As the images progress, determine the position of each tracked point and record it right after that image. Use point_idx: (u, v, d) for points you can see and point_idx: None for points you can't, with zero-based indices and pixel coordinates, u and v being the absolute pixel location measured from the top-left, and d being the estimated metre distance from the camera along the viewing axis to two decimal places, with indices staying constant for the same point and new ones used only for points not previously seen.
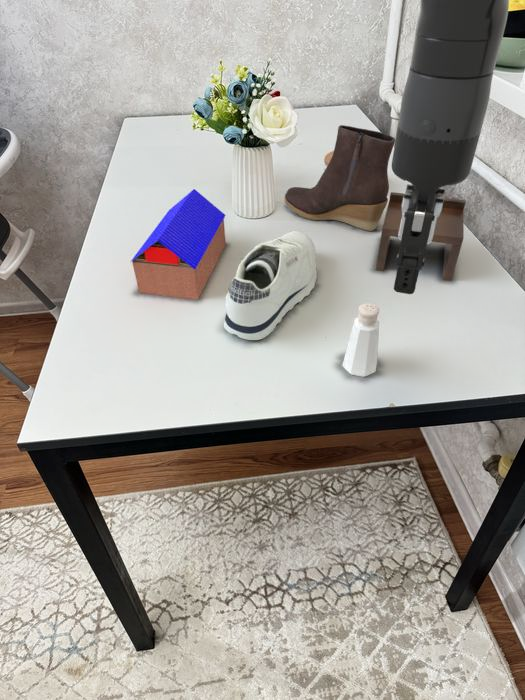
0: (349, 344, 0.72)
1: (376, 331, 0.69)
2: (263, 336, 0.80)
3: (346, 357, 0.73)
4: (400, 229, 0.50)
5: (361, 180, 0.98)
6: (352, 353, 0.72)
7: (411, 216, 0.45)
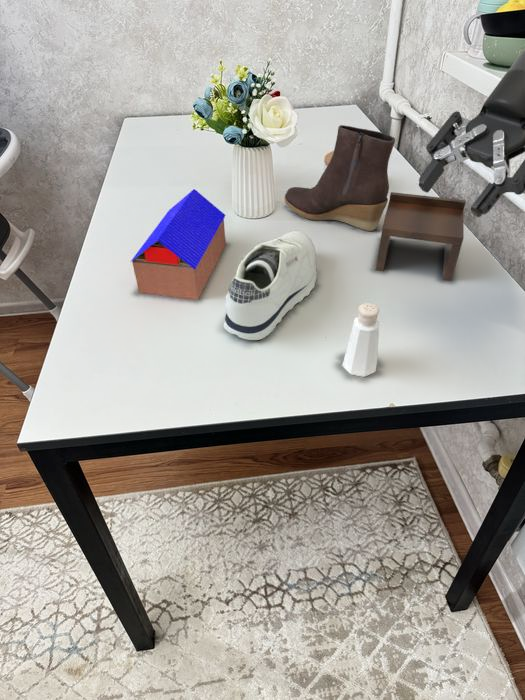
0: (349, 344, 0.72)
1: (376, 331, 0.69)
2: (263, 336, 0.80)
3: (346, 357, 0.73)
4: None
5: (361, 180, 0.98)
6: (352, 353, 0.72)
7: None
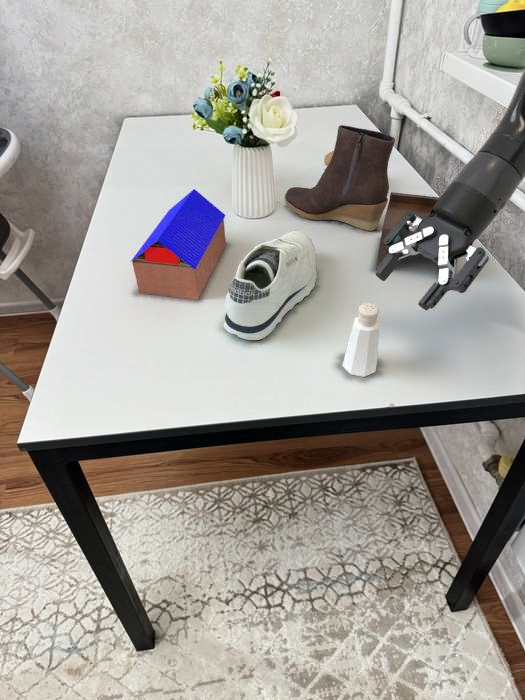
0: (349, 344, 0.72)
1: (376, 331, 0.69)
2: (263, 336, 0.80)
3: (346, 357, 0.73)
4: (416, 246, 0.72)
5: (361, 180, 0.98)
6: (352, 353, 0.72)
7: None
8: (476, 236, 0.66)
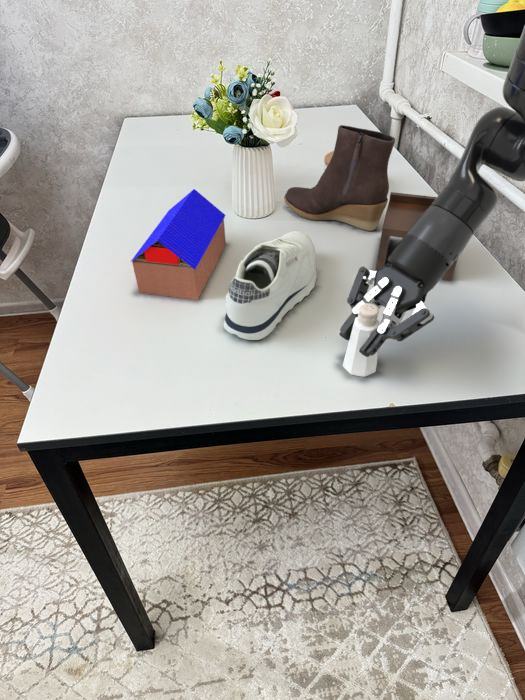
0: (349, 344, 0.72)
1: (376, 331, 0.69)
2: (263, 336, 0.80)
3: (346, 357, 0.73)
4: (376, 301, 0.73)
5: (361, 180, 0.98)
6: (352, 353, 0.72)
7: None
8: (429, 288, 0.67)
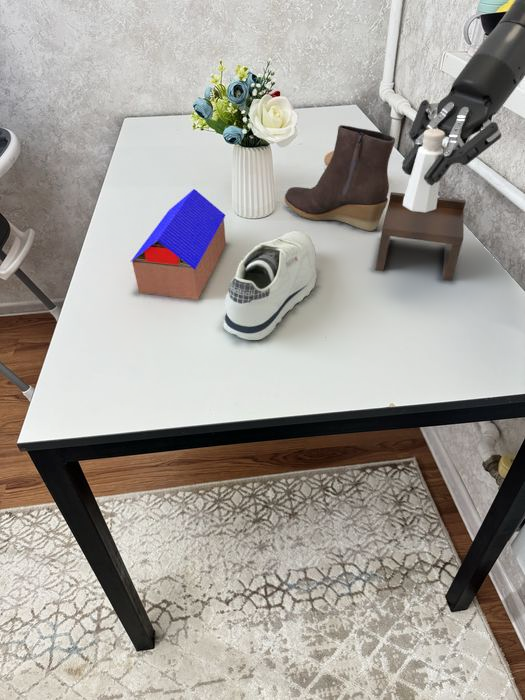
0: (412, 176, 0.73)
1: None
2: (263, 336, 0.80)
3: (407, 193, 0.74)
4: None
5: (361, 180, 0.98)
6: (415, 185, 0.72)
7: None
8: (496, 107, 0.67)
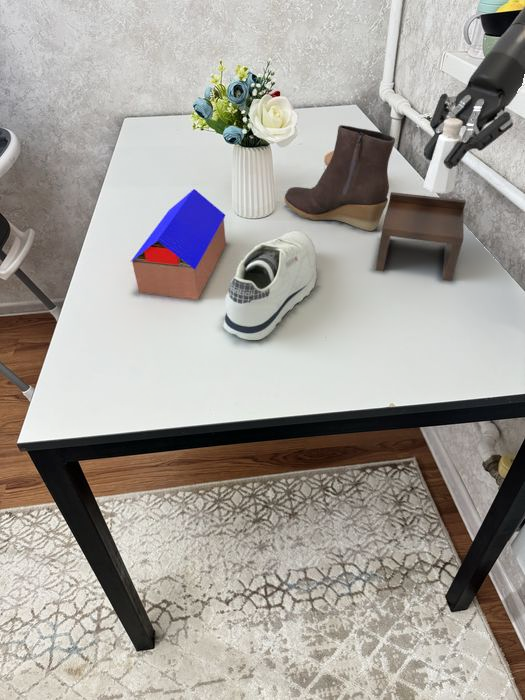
0: (432, 161, 0.81)
1: None
2: (263, 336, 0.80)
3: (428, 176, 0.83)
4: None
5: (361, 180, 0.98)
6: (435, 169, 0.81)
7: None
8: (508, 99, 0.76)
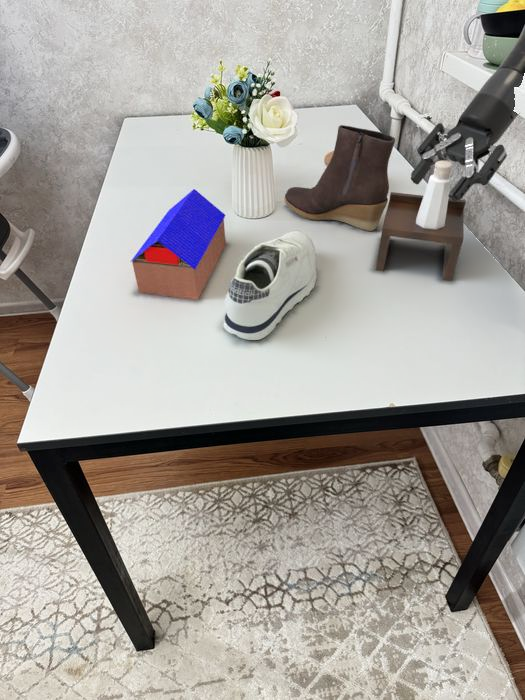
0: (424, 200, 0.86)
1: (449, 184, 0.83)
2: (263, 336, 0.80)
3: (420, 213, 0.88)
4: None
5: (361, 180, 0.98)
6: (427, 207, 0.86)
7: None
8: (496, 138, 0.80)
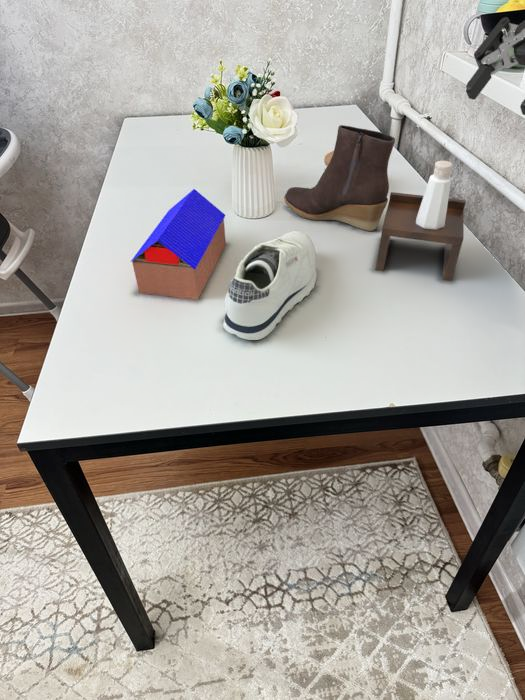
0: (424, 200, 0.86)
1: (449, 184, 0.83)
2: (262, 336, 0.80)
3: (420, 213, 0.88)
4: (510, 59, 0.67)
5: (361, 180, 0.98)
6: (427, 207, 0.86)
7: None
8: None
